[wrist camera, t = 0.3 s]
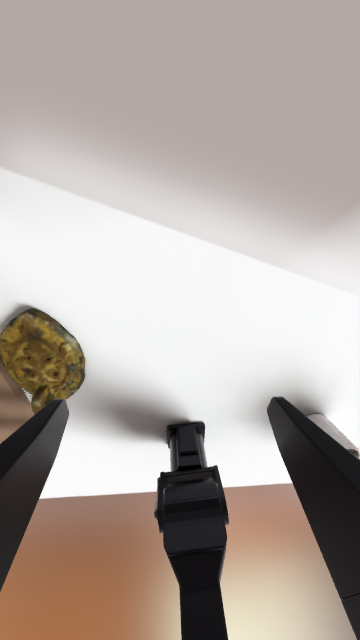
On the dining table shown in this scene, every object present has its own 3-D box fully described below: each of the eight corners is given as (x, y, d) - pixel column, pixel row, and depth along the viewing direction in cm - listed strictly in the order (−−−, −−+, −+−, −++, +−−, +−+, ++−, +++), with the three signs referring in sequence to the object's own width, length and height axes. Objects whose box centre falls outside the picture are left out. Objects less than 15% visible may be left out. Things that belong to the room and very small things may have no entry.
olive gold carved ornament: (-7, 300, 22) (32, 393, 29) (-53, 321, 18) (5, 423, 25) (76, 308, 22) (94, 399, 29) (49, 330, 18) (78, 430, 25)
